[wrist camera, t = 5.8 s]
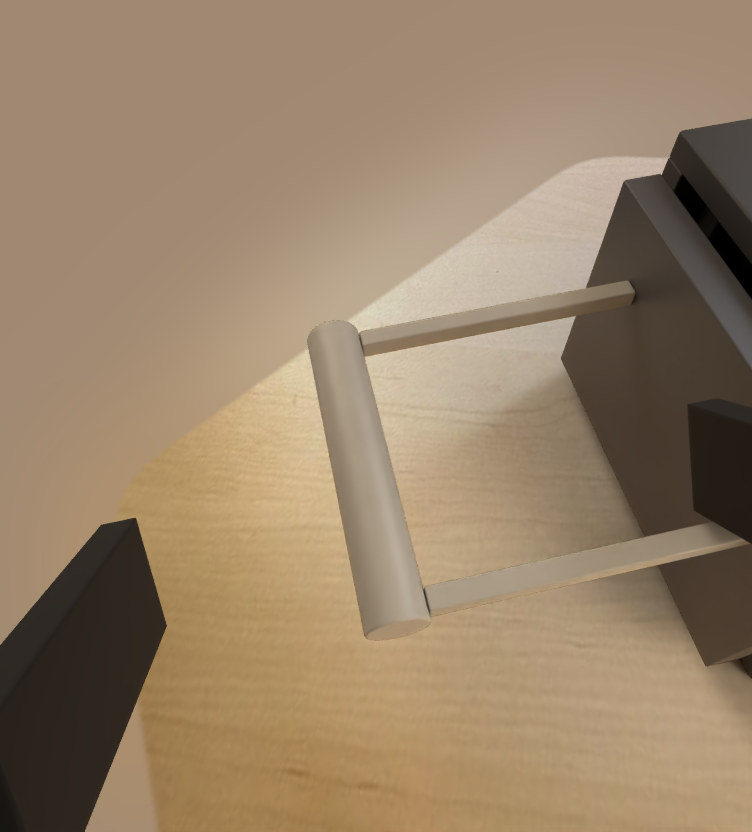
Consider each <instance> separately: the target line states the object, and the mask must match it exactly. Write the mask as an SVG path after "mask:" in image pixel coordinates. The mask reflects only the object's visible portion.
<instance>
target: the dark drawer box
mask: <svg viewBox="0 0 752 832" xmlns="http://www.w3.org/2000/svg"><path fill="white" fill-rule="evenodd" d="M662 177H663V178H664V179H665V181H666V182H667V184H668V185H669V186H670V188H671V189H672V190H673V192H674V193H675V195H676V196H677V197H678V199H679V200H680V201H681V203H682V204H683V206H684V207H685V208H686V210H687V211H688V212H689V214H690V215H691V217H692V218H693V219H694V221H695V222H696V223H698V221H699V219H700V217H701V215H702V213H703V212H704V210H705V208H706V206H708V208H709V209H710V210H711V212H712V213H713V214H714V216H715V217H716V218H717V220H718V221H719V222H720V224H721V225H722V226H723V228H724V229H725V230H726V231H727V233H728V234H729V235H730V237H731V238H732V239H733V241H734V242H735V243H736V245H737V246H738V247H739V249H740V250H741V251H742V253H743V254H744V255H745V257H746V258H747V259H748V260H749V262H750V263H751V264H752V119H747V120H741V121H735V122H730V123H724V124H718V125H712V126H707V127H701V128H695V129H689V130H683V131H681V132H680V133H679V135H678V137H677V140H676V142H675V145H674V147H673V149H672V152H671V155H670V158H669V159H668V161H667V163H666V166H665V168H664V171H663V173H662ZM741 660H742V662H743V664H744V666H745V668H746V669H747V671H748V673H749V675H750V677H751V678H752V654H750V655H747V656H745V657H742V658H741Z"/></svg>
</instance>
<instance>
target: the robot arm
mask: <svg viewBox="0 0 752 832" xmlns="http://www.w3.org/2000/svg"><path fill="white" fill-rule="evenodd" d="M687 411H688V428H689V444H690V461H691V477H692V494H693V510H694V511H695V512H697V513H699V514H701V515H702V516H704V517H706V518H707V519H709V520H711V521H713V522H714V523H716V524H718V525H719V526H721V527H723V528H725V529H726V530H728V531H730V532H731V533H733V534H735V535H737V536H738V537H740V538H742V539H743V540H745V541H747V542H749V543H750V544H752V408H751V407H748V406H744V405H740V404H737V403H733V402H730V401H726V400H722V399H719V398H715V399H710V400H705V401H700V402H695V403H690V404H687ZM166 627H167V625H166V621H165V618H164V614H163V611H162V607H161V604H160V600H159V597H158V593H157V590H156V586H155V583H154V579H153V576H152V573H151V569H150V566H149V562H148V559H147V555H146V552H145V548H144V545H143V541H142V538H141V534H140V531H139V527H138V524H137V520H136V518H132V519H127V520H122V521H118V522H113V523H108V524H103V525H101V526H100V527H99V528H98V529H97V531H96V532H95V533H94V534H93V535H92V537H91V538H90V539H89V540H88V541H87V542H86V544H85V545H84V546H83V547H82V549H81V550H80V551H79V552H78V553H77V554H76V556H75V557H74V558H73V559H72V560H71V562H70V563H69V564H68V565H67V566H66V568H65V569H64V570H63V571H62V572H61V573H60V575H59V576H58V577H57V578H56V580H55V581H54V582H53V583H52V584H51V585H50V587H49V588H48V589H47V590H46V591H45V593H44V594H43V595H42V596H41V597H40V599H39V600H38V601H37V602H36V603H35V605H34V606H33V607H32V608H31V609H30V610H29V612H28V613H27V614H26V615H25V616H24V618H23V619H22V620H21V621H20V622H19V624H18V625H17V626H16V627H15V628H14V630H13V631H12V632H11V633H10V634H9V636H8V637H7V638H6V639H5V640H4V641H3V643H2V644H1V645H0V832H85V829H86V826H87V824H88V821H89V819H90V817H91V814H92V812H93V809H94V807H95V804H96V802H97V799H98V797H99V794H100V792H101V789H102V787H103V784H104V781H105V779H106V777H107V774H108V772H109V769H110V767H111V764H112V762H113V759H114V757H115V754H116V752H117V749H118V747H119V744H120V742H121V739H122V737H123V734H124V732H125V729H126V727H127V724H128V722H129V719H130V717H131V714H132V712H133V709H134V707H135V704H136V702H137V699H138V697H139V694H140V692H141V689H142V687H143V684H144V682H145V679H146V677H147V674H148V672H149V669H150V667H151V664H152V662H153V659H154V657H155V654H156V652H157V649H158V647H159V644H160V642H161V639H162V637H163V634H164V632H165V629H166Z"/></svg>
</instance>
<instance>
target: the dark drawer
mask: <svg viewBox="0 0 752 832" xmlns="http://www.w3.org/2000/svg"><path fill="white" fill-rule="evenodd" d="M572 316H576V318H575V320H574V323H573V326H572V329H571V332H570V335H569V337H568V340H567V343H566V346H565V349H564V351H563V354H562V357H561V360H562V362H563V364H564V366H565V368H566V370H567V373H568V375H569V377H570V379H571V381H572V383H573V385H574V387H575V390H576V392H577V394H578V396H579V398H580V400H581V402H582V404H583V407H584V409H585V411H586V413H587V415H588V417H589V419H590V422H591V424H592V426H593V428H594V430H595V432H596V434H597V436H598V439H599V441H600V443H601V445H602V447H603V449H604V451H605V453H606V456H607V458H608V460H609V462H610V464H611V466H612V468H613V470H614V473H615V475H616V477H617V479H618V481H619V483H620V485H621V487H622V490H623V492H624V494H625V496H626V498H627V500H628V502H629V504H630V507H631V509H632V511H633V513H634V515H635V517H636V519H637V521H638V524H639V526H640V528H641V530H642V532H643V534H644V536H645V537H643V538H638V539H634V540H629V541H625V542H620V543H616V544H611V545H607V546H603V547H598V548H594V549H589V550H585V551H580V552H576V553H571V554H567V555H563V556H558V557H554V558H549V559H545V560H540V561H536V562H531V563H527V564H523V565H518V566H514V567H509V568H505V569H500V570H496V571H491V572H487V573H482V574H478V575H474V576H469V577H465V578H460V579H456V580H451V581H447V582H442V583H438V584H434V585H429V586H425V587H424V589H423V585H422V581H421V578H420V574H419V570H418V566H417V562H416V558H415V554H414V550H413V546H412V542H411V538H410V534H409V530H408V526H407V522H406V518H405V515H404V511H403V507H402V503H401V499H400V495H399V491H398V487H397V483H396V479H395V475H394V471H393V467H392V463H391V459H390V456H389V452H388V448H387V444H386V440H385V436H384V432H383V428H382V424H381V420H380V416H379V412H378V408H377V404H376V400H375V397H374V393H373V389H372V385H371V381H370V377H369V373H368V369H367V365H366V361H365V357H366V356H371V355H377V354H382V353H387V352H392V351H397V350H402V349H407V348H413V347H418V346H423V345H428V344H433V343H438V342H443V341H449V340H454V339H459V338H464V337H469V336H474V335H479V334H485V333H490V332H495V331H500V330H505V329H510V328H515V327H521V326H526V325H531V324H536V323H541V322H546V321H551V320H557V319H562V318H567V317H572ZM359 336H360V338H359ZM307 342H308V348H309V354H310V359H311V364H312V369H313V374H314V379H315V384H316V390H317V395H318V400H319V405H320V410H321V415H322V420H323V426H324V431H325V436H326V441H327V446H328V451H329V456H330V462H331V467H332V472H333V477H334V482H335V487H336V493H337V498H338V503H339V508H340V513H341V518H342V523H343V529H344V534H345V539H346V544H347V549H348V554H349V559H350V565H351V570H352V575H353V580H354V585H355V590H356V595H357V601H358V606H359V611H360V616H361V621H362V626H363V631H364V636H365V637H366V639H368V640H375V641H379V640H389V639H395V638H400V637H404V636H407V635H410V634H413V633H416V632H418V631H420V630H423V629H424V628H426V627H427V626H429V625H430V623H431V617H433V616H437V615H441V614H446V613H450V612H454V611H459V610H463V609H468V608H472V607H476V606H481V605H485V604H489V603H494V602H498V601H502V600H507V599H511V598H516V597H520V596H524V595H529V594H533V593H537V592H542V591H546V590H551V589H555V588H559V587H564V586H568V585H572V584H577V583H581V582H586V581H590V580H594V579H599V578H603V577H607V576H612V575H616V574H620V573H625V572H629V571H634V570H638V569H642V568H647V567H651V566H655V565H658V566H659V568H660V570H661V573H662V575H663V577H664V579H665V581H666V583H667V585H668V587H669V590H670V592H671V594H672V596H673V598H674V600H675V602H676V604H677V607H678V609H679V611H680V613H681V615H682V617H683V619H684V621H685V624H686V626H687V628H688V630H689V632H690V634H691V636H692V639H693V641H694V643H695V645H696V647H697V649H698V651H699V653H700V656H701V658H702V660H703V662H704V664H705V666H712V665H716V664H720V663H724V662H728V661H732V660H736V659H740V658H742V657H745V656H747V655H750V654H752V544H750V543H749V542H747V541H745V540H743V539H742V538H740V537H738V536H737V535H735V534H733V533H731V532H730V531H728V530H726V529H725V528H723V527H721V526H719V525H718V524H716V523H714V522H713V521H711V520H709V519H707V518H706V517H704V516H702V515H701V514H699V513H697V512H695V511H694V510H693V494H692V477H691V461H690V444H689V428H688V411H687V404H690V403H695V402H700V401H705V400H710V399H715V398H719V399H722V400H726V401H730V402H733V403H737V404H740V405H744V406H748V407H751V408H752V264H751V263H750V262H749V260H748V259H747V258H746V257H745V255H744V254H743V253H742V251H741V250H740V249H739V247H738V246H737V245H736V243H735V242H734V241H733V239H732V238H731V237H730V235H729V234H728V233H727V231H726V230H725V229H724V228H723V226H722V225H721V224H720V222H719V221H718V220H717V218H716V217H715V216H714V214H713V213H712V212H711V210H710V209H709V208H708V206H706V208H705V210H704V212H703V213H702V215H701V217H700V219H699V221H698V223H696V222H695V221H694V219H693V218H692V217H691V215H690V214H689V212H688V211H687V210H686V208H685V207H684V206H683V204H682V203H681V201H680V200H679V199H678V197H677V196H676V195H675V193H674V192H673V190H672V189H671V188H670V186H669V185H668V184H667V182H666V181H665V179H664V178H663V177H662V175H661V174H658V175H652V176H646V177H641V178H635V179H629V180H625V181H624V182H623V185H622V188H621V191H620V194H619V196H618V199H617V202H616V205H615V208H614V210H613V213H612V216H611V219H610V222H609V225H608V227H607V230H606V233H605V236H604V239H603V241H602V244H601V247H600V250H599V253H598V256H597V258H596V261H595V264H594V267H593V270H592V273H591V275H590V278H589V281H588V284H587V287H586V288H585V289H580V290H575V291H569V292H564V293H559V294H554V295H549V296H543V297H538V298H533V299H528V300H522V301H517V302H512V303H507V304H501V305H496V306H491V307H486V308H481V309H475V310H470V311H465V312H460V313H454V314H449V315H444V316H439V317H433V318H428V319H423V320H418V321H413V322H407V323H402V324H397V325H392V326H386V327H381V328H376V329H371V330H365V331H361V332H360V333H359V334H358V331H357V329H356V327H355V326H354V325H352V324H351V323H349V322H346V321H341V320H333V321H328V322H324V323H322V324H320V325H318V326H316V327H315V328H314V329H313V330H312V331H311V332H310V334H309V336H308V341H307ZM364 356H365V357H364Z"/></svg>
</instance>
